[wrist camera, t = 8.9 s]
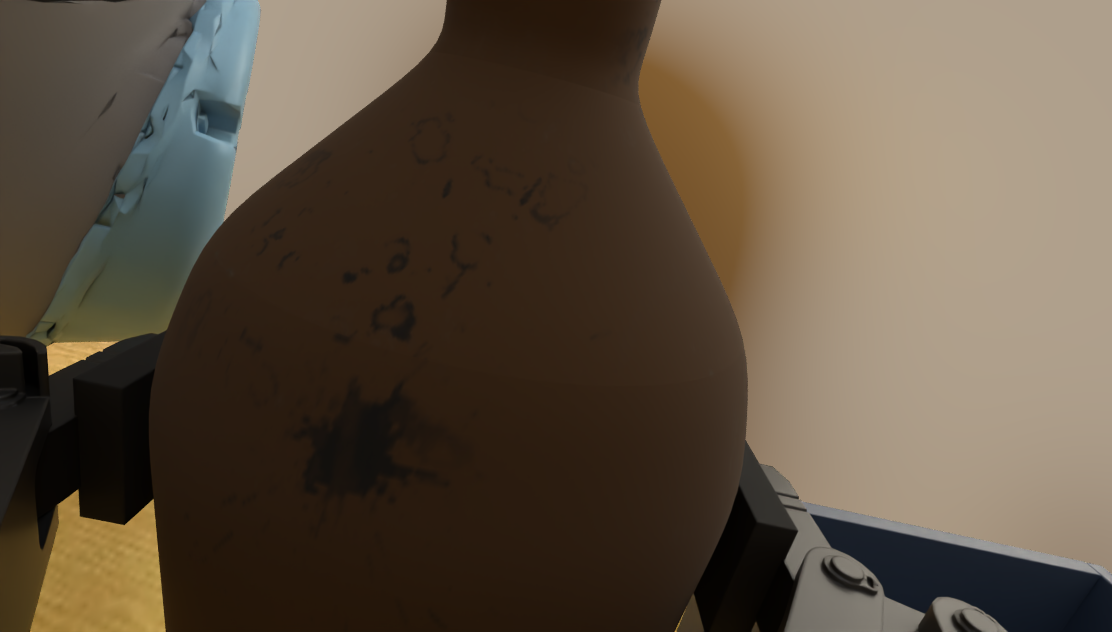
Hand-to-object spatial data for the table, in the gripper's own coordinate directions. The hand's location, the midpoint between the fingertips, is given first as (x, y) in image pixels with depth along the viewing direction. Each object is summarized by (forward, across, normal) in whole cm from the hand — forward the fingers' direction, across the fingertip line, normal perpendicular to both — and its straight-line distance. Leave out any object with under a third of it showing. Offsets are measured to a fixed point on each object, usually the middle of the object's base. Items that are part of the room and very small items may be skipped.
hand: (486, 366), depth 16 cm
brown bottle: (-4, 0, -14) cm, 15 cm away
